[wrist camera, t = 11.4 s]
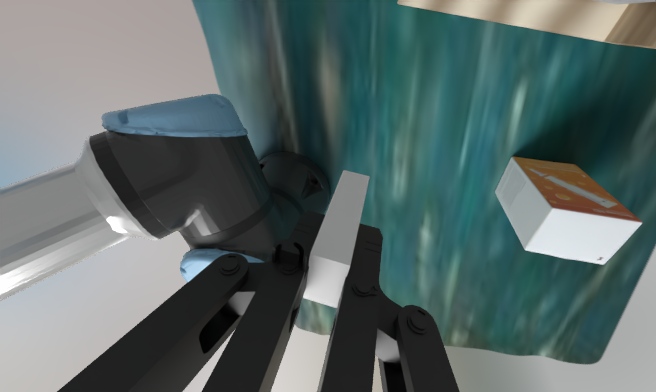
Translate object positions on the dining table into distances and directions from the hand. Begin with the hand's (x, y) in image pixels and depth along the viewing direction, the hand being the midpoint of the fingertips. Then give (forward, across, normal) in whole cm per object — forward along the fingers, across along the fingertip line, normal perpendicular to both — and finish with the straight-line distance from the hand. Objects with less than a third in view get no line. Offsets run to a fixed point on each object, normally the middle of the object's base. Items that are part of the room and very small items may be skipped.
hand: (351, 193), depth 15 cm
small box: (+27, +24, -7) cm, 37 cm away
